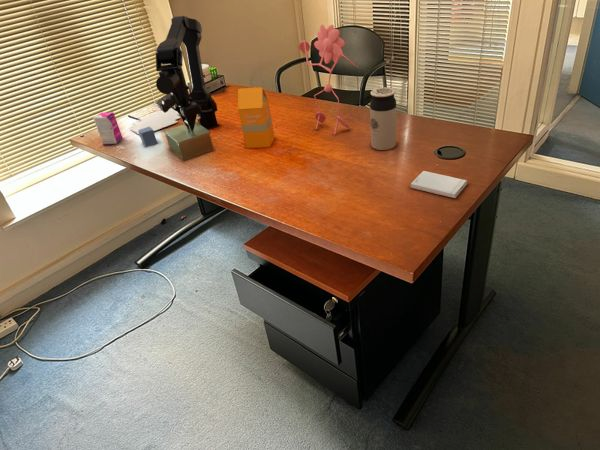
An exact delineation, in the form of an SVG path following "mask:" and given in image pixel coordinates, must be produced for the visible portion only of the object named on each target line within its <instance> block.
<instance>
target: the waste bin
mask: <svg viewBox="0 0 600 450" xmlns="http://www.w3.org/2000/svg"><path fill="white" fill-rule="evenodd" d="M164 134H165V137H166V141H167V143H168V147H169V149H170V150H171V151H172V152H173V153H174V154H175V155H176V156H177V157H178V158H179V159H180V160H181V161H183V162H185V161H188V160H191V159H194V158H197V157H200V156H202V155H204V154H207V153H211V152H213V151H214V146H213V142H212V138H211V133H210V134H208V135H205V136H202V137H199V138H196V139H193V140H190V141H187V142H184V143H182V144H179V145H178V144H177V143H176V142H175V141H174V140H173V139H172V138H170V137H169V136H168V135H167V134H166V133H165V132H164Z"/></svg>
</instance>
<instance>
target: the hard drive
mask: <svg viewBox="0 0 600 450" xmlns="http://www.w3.org/2000/svg"><path fill="white" fill-rule="evenodd" d="M467 185H468V180H467V179H463V178H456V177H453V176H449V175H445V174H440V173H435V172H430V171H426V170H423V171H422V172H420V173H419V174H418V175H417V176H416V177H415V179H414V180H412V182H411V183H410V188H411V189H415V190H418V191H423V192H427V193H431V194H435V195H440V196H443V197H448V198H452V199H456V198H457V197H458V196H459V195H460V194H461V192H462V191H463V190H464V189H465V187H467Z"/></svg>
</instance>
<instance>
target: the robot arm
mask: <svg viewBox="0 0 600 450" xmlns="http://www.w3.org/2000/svg"><path fill="white" fill-rule="evenodd" d="M170 20H171V24H170V28H169V29H168V33H167V35H166V38H165V40H163V41H161V42H160V43H159V44H158V45H157V47H156V50H155V70H156V72H158V76H159V77H157V79H156V81H155V86H156V88H157V91H159V92H160V93H162V94H164V95H163V96H162V97H161V98H159V99H158V100H157V101H155V104H156V105H157V106H158V108H159V109H160V110H162V111H163V112H164V113H166V112H167V111H168V110H169V109H170V108H172V109H173V110H175V111H177V112H178V114H179V115H178V116H180V117H181V118H180V119H181V120H182V122H183V125H184V124H185V126H186V123H185V122H184V119H186V121H187V123H188V125H189V127H190V129H191V130H194V127H195V121H196V122H197V123H198V124H200V125H201V126H203V127H204V128H206V129H207V130H208V131H209V130H210V129H214V128H217V127H220V124H219V123H218V120H217V115H216V112H218V105H217V102H216V101H215V99H214V98H213V97H212V93H211V92H210V90H209V89H208V87H207V86H206V84H205V78H204V77H205V76H204V70H203V65H202V58H201V51H200V47H199V46H200V43H201V41H202V38H203V37H202V36H203V35H202V32H203V29H202V24H201V22H200V21H198V20H197V19H195V18H191V17H188V16H185V15H178V16H173V17H171V19H170ZM182 44H183V45H184V46H185V50H186V55H187V63H188V69H189V73H190V79H191V86H192V88H191V91H190V92H189V90H190V86H189V85H188V84H187V81H186V78H185V75H184V70H183V65H184V64H183V58H184V57H183V56H184V54H183V51H182V48H181V46H182Z"/></svg>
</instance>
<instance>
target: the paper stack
mask: <svg viewBox="0 0 600 450" xmlns="http://www.w3.org/2000/svg"><path fill="white" fill-rule="evenodd" d="M137 119H138V120H139V121H136V122H132V124H133V125H132V126H130V127H128V129H129V130H130V131H132V132H133V133H135V134H138V135H139V136H140V134H139V132H138V130H140V129H143V128H146V127H151V128H152V129H153V131H154V132H155V131H158V130H160V129H163V128H166V127H169V126H171V125H174V124H177V123H178V122H179V121H178V120H179V119H181V117H180V115H179V114H178V112H177V111H175V110H173V109H172V108H170V109H169V110H168V111H167V112H166V113H164V112H163V111H162V110H161V109H160V110H157V111H155V112H151V113H149V114H147V115H143V116H140V117H138V118H137Z"/></svg>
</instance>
